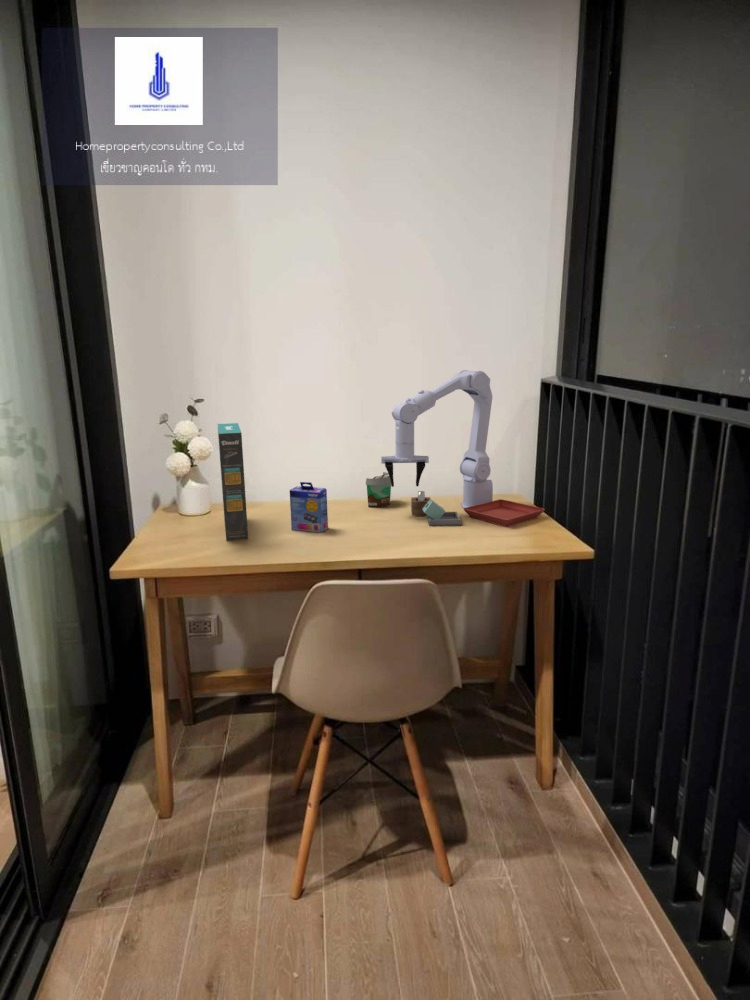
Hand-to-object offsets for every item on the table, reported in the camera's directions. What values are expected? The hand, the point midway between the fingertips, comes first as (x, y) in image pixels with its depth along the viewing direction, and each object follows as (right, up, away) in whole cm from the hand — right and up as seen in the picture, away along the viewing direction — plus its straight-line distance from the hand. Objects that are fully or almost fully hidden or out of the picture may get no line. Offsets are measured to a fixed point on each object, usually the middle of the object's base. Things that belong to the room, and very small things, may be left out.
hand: (404, 485), depth 198 cm
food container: (-7, -6, +16) cm, 18 cm away
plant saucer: (+30, -10, -1) cm, 32 cm away
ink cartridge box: (-29, -13, -11) cm, 33 cm away
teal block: (+10, -9, -5) cm, 15 cm away
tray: (+11, -11, -5) cm, 17 cm away
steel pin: (+5, -9, +5) cm, 11 cm away
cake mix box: (-51, -13, -9) cm, 53 cm away
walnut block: (+5, -9, +5) cm, 11 cm away
